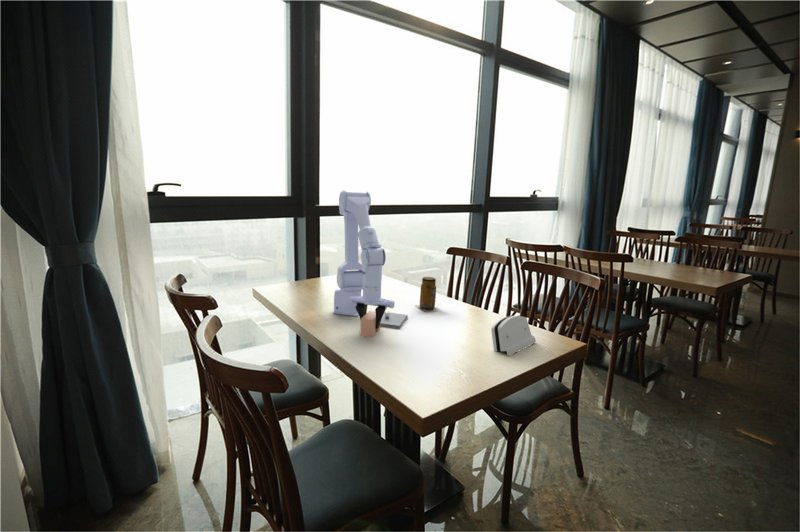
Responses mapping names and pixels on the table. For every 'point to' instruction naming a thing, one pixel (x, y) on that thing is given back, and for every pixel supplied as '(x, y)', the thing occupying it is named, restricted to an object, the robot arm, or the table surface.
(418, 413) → the table surface
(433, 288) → the condiment
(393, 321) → the plate
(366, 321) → the block
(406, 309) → the table surface
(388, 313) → the steel stub
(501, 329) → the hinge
